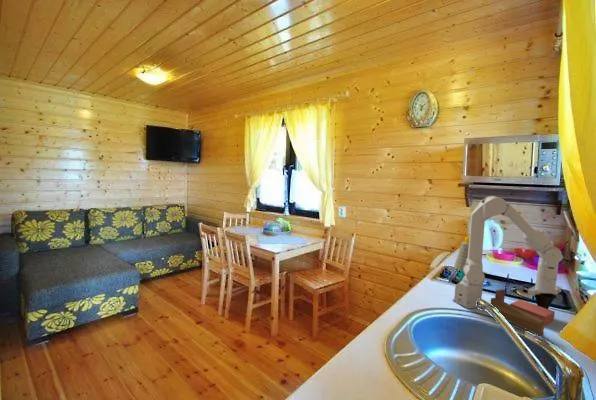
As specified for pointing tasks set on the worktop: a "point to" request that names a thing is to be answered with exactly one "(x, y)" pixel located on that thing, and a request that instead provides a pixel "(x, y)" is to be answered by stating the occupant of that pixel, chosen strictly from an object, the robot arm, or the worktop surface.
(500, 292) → the bookend
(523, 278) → the worktop surface
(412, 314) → the worktop surface
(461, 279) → the stick construction toy
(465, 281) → the robot arm
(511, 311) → the shelf wall
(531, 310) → the reddish rectangular block
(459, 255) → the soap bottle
